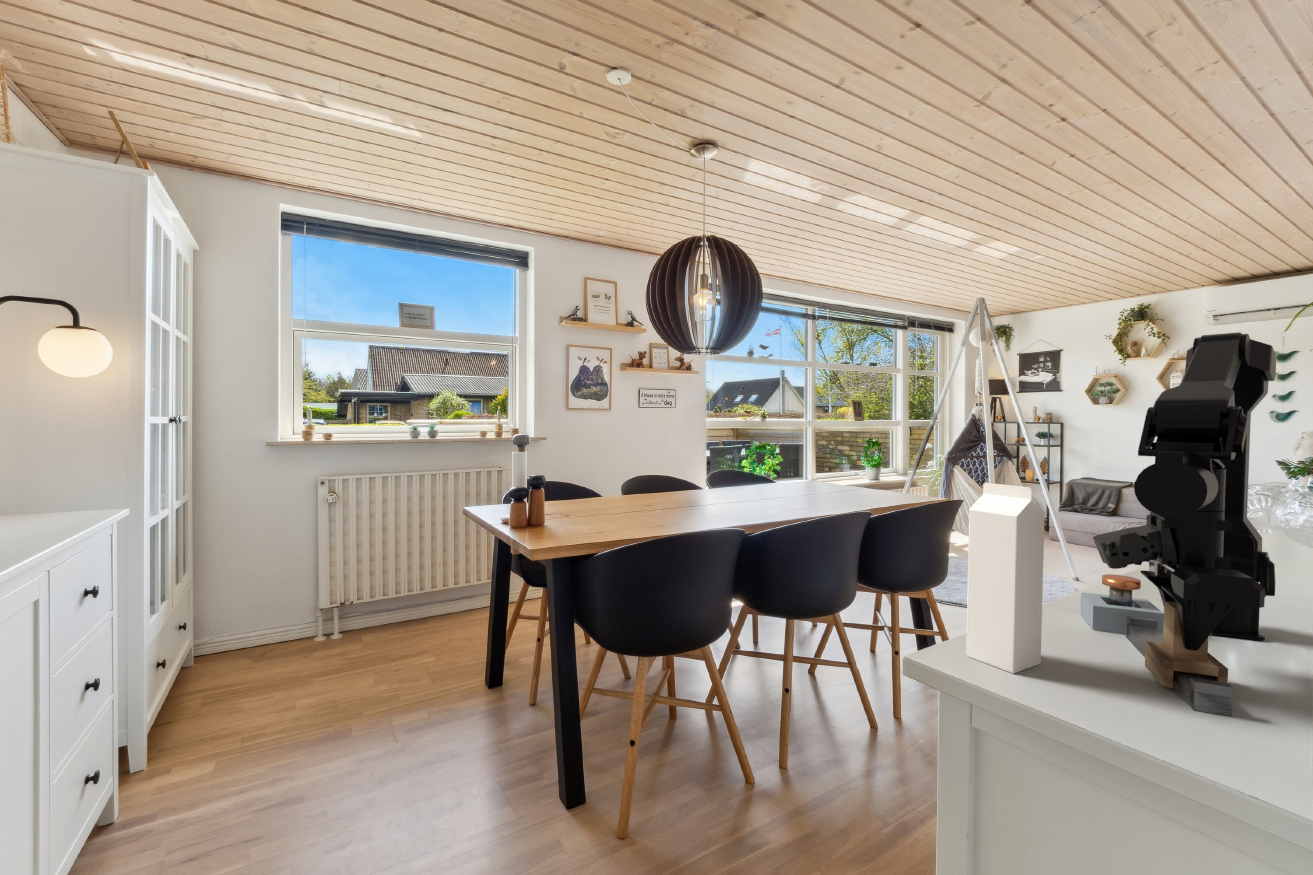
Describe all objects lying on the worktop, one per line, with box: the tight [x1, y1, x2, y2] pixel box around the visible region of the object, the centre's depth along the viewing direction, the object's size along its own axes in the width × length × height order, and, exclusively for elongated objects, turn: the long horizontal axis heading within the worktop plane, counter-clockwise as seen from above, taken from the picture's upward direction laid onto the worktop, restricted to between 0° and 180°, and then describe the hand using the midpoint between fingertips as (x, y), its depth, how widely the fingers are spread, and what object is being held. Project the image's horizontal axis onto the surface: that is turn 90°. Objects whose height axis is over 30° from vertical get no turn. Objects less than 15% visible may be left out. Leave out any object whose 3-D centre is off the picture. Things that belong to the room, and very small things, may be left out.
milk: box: [965, 482, 1046, 675], centre depth 73 cm, size 6×6×22 cm
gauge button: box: [1101, 573, 1142, 607], centre depth 85 cm, size 4×4×4 cm
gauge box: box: [1080, 591, 1164, 635], centre depth 85 cm, size 8×7×4 cm
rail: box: [1125, 616, 1234, 717], centre depth 70 cm, size 3×22×3 cm, turn 156°
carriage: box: [1144, 601, 1229, 689], centre depth 67 cm, size 5×6×8 cm
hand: (1184, 644), depth 67 cm, fingers closed on carriage, 3 cm apart
